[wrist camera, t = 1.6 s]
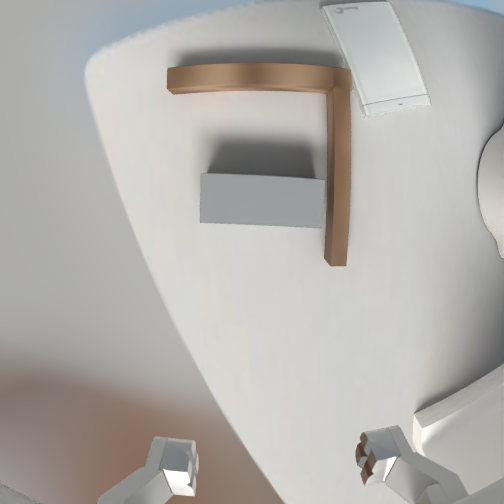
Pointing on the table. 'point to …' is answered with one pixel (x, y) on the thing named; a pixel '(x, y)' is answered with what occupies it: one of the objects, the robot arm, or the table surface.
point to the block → (466, 432)
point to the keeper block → (261, 200)
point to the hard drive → (377, 57)
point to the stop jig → (298, 80)
